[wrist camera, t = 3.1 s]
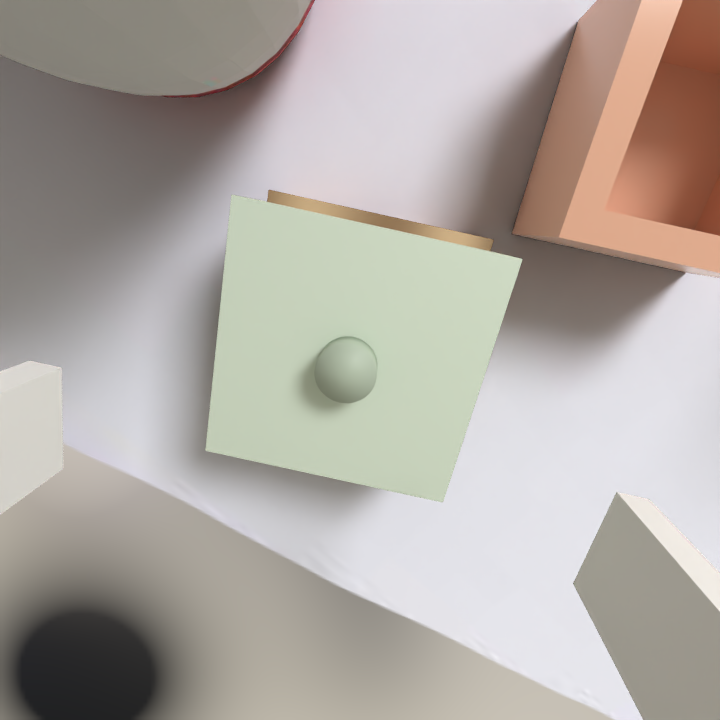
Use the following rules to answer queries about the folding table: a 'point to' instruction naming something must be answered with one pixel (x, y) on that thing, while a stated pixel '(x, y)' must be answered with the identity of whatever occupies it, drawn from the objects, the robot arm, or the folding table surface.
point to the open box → (634, 138)
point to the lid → (351, 347)
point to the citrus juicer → (150, 41)
